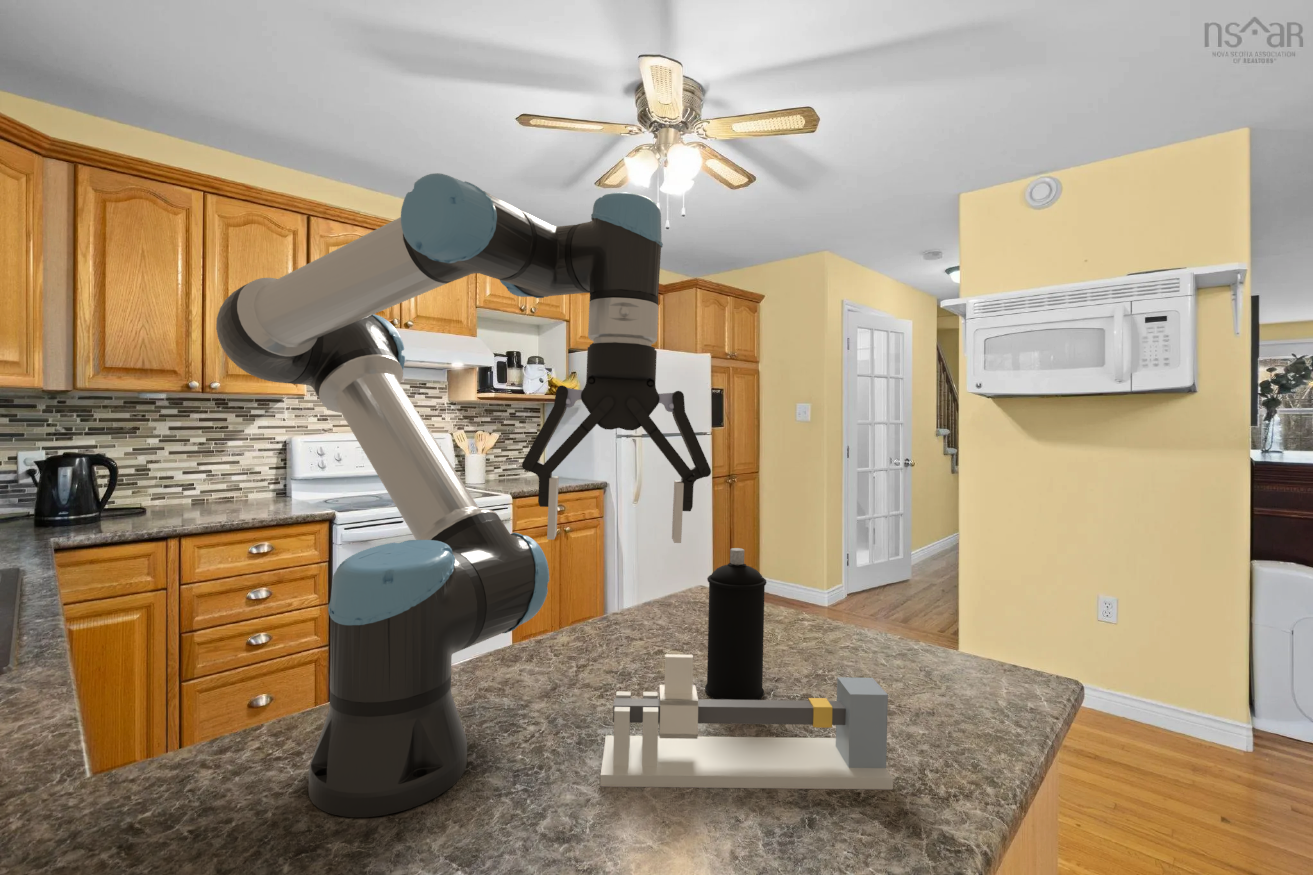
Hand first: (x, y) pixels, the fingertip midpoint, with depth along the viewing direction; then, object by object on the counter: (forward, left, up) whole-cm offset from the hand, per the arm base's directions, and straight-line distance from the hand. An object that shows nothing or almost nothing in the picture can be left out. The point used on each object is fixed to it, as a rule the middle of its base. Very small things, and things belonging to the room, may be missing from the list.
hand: (614, 539), depth 67 cm
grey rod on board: (+14, -1, -24) cm, 28 cm away
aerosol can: (+16, +18, -25) cm, 35 cm away
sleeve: (+7, -1, -20) cm, 22 cm away
